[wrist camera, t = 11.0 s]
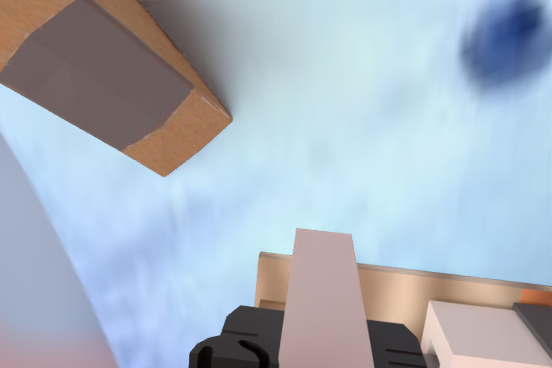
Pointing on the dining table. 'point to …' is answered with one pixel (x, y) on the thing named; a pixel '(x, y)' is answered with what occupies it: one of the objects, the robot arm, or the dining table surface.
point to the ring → (537, 323)
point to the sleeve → (480, 338)
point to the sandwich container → (109, 77)
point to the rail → (404, 292)
